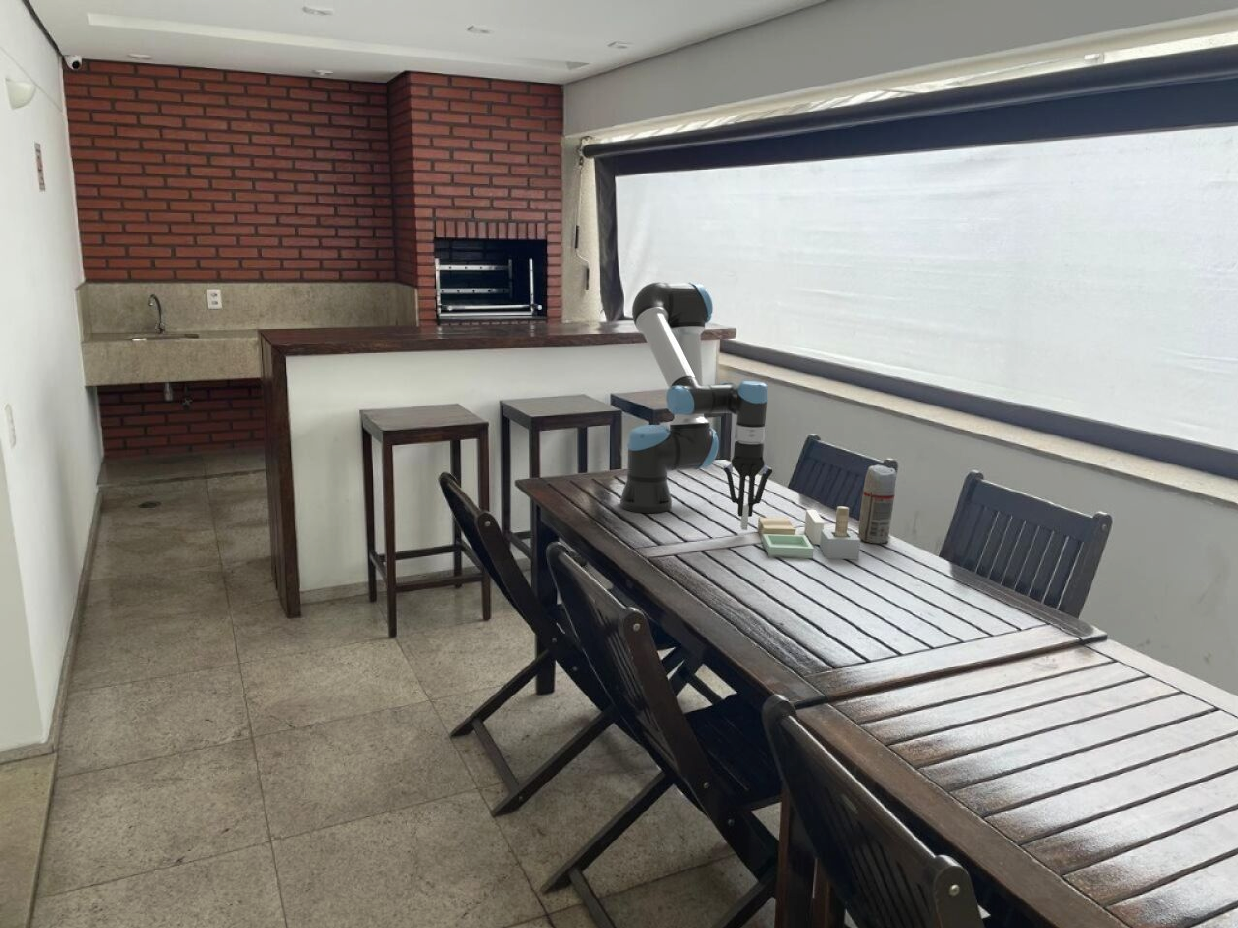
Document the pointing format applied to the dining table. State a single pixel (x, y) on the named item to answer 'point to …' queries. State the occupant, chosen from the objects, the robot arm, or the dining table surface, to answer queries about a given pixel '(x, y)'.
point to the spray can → (877, 504)
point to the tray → (787, 546)
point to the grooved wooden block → (775, 526)
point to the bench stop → (813, 526)
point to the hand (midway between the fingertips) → (743, 528)
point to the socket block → (840, 545)
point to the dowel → (841, 521)
